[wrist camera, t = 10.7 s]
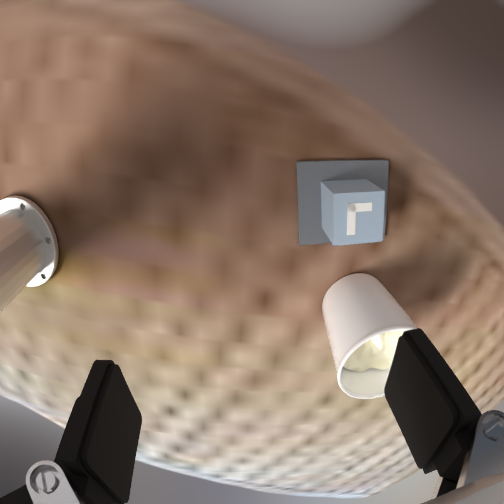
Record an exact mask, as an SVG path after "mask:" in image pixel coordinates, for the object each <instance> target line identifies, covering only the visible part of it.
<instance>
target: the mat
mask: <svg viewBox="0 0 504 504" xmlns="http://www.w3.org/2000/svg"><path fill="white" fill-rule="evenodd" d="M388 170H389V161H388V160H322V161H297V162H296V171H297V199H298V239H299V245H311V244H324V243H331V241H330V240H329V238H328V236H327V235H326V233H325V232H324V230H323V228H322V210H321V181H337V180H357V179H367V180H368V181H370V182H372V183H373V184H375V185H376V186H378V187H379V188H381V189H383V190H384V191H385V202H384V223H383V238H382V239H384V238H385V226H386V212H387V195H388Z"/></svg>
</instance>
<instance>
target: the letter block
mask: <svg viewBox="0 0 504 504" xmlns="http://www.w3.org/2000/svg"><path fill="white" fill-rule="evenodd" d="M384 202H385V191H384V190H383V189H381V188H379V187H378V186H376V185H375V184H373V183H372V182H370V181H368V180H367V179H357V180H337V181H321V210H322V228H323V230H324V232H325V233H326V235H327V236H328V238H329V240H330V241H331V243H332V244H333V246H338V245H349V244H360V243H370V242H381V241H382V238H383V223H384Z"/></svg>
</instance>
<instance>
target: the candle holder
mask: <svg viewBox="0 0 504 504" xmlns="http://www.w3.org/2000/svg"><path fill="white" fill-rule="evenodd" d="M322 311H323V316H324V321H325V325H326V329H327V333H328V337H329V342H330V346H331V350H332V354H333V359H334V363H335V367H336V372H337V380H338V384H339V386H340V388H341V389H342V390H343V391H344V392H345V393H346V394H348V395H349V396H352V397H355V398H360V399H372V398H378V397H382V396H385V394H384V388H385V384H386V381H387V378H388V375H389V371H390V368H391V364H392V361H393V357H394V354H395V350H396V346H397V342H398V339H399V337H400V336H402V334H403V332H404V331H408V330H412V329H417V328H418V327H417V326H416V325H415V323H414V322H413V321H412V320H411V318H410V317H409V316H408V315H407V313H406V312H405V311H404V310H403V308H402V307H401V306H400V305H399V304H398V302H397V301H396V300H395V299H394V297H393V296H392V295H391V294H390V293H389V292H388V290H387V289H386V288H385V287H384V286H383V285H382V283H381V282H380V281H379V280H377V279H376V278H375V277H373V276H371V275H368V274H364V273H355V274H350V275H347V276H345V277H343V278H341V279H339V280H338V281H336V282H335V283H334V284H333V285H332V286H331V287H330V288H329V289H328V291H327V292H326V294H325V296H324V299H323V304H322Z"/></svg>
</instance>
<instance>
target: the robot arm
mask: <svg viewBox="0 0 504 504" xmlns="http://www.w3.org/2000/svg"><path fill="white" fill-rule="evenodd" d="M58 256H59V250H58V242H57V238H56V234H55V232H54V229H53V226H52V224H51V223H50V221H49V219H48V217H47V216H46V215H45V213H44V212H43V211H42V209H41V208H40V207H39V206H37V205H36V204H35V203H34V202H32V201H31V200H29V199H27V198H25V197H23V196H17V195H14V196H9V197H6V198H4V199H2V200H0V313H1V312H2V311H3V310H4V309H5V308H6V306H7V305H8V304H9V303H10V302H11V301H12V300H13V299H14V298H15V297H16V296H17V295H18V294H19V293H20V292H21V291H22V289H23V288H24V287H25V286H30V287H35V286H40V285H42V284H44V283H45V282H46V281H47V280H49V278H50V277H51V276H52V275H53V274H54V272H55V270H56V267H57V264H58ZM384 394H385V397H386V400H387V402H388V404H389V406H390V408H391V410H392V412H393V414H394V416H395V418H396V421H397V423H398V425H399V427H400V429H401V431H402V433H403V436H404V438H405V440H406V442H407V444H408V447H409V449H410V451H411V453H412V455H413V458H414V460H415V462H416V464H417V466H418V467H419V468H420V469H423V471H424V473H425V474H427V473H429V472H432V471H434V470H438V473H439V475H440V477H439V480H438V483H437V485H436V488H435V491H434V494H433V496H432V499H431V500H429V501H427V502H424V503H422V504H504V413H503V412H501V411H498V410H490V411H487V412H485V413H483V414H481V412H480V411H479V409H478V408H477V406H476V405H475V403H474V402H473V400H472V399H471V397H470V396H469V394H468V393H467V391H466V390H465V388H464V387H463V385H462V384H461V383H460V381H459V380H458V378H457V377H456V375H455V374H454V373H453V371H452V370H451V368H450V367H449V366H448V364H447V363H446V361H445V360H444V359H443V357H442V356H441V355H440V353H439V352H438V350H437V349H436V348H435V346H434V345H433V344H432V342H431V341H430V340H429V338H428V337H427V336H426V334H425V333H424V332H423V331H422V330H421V329H420V328H417V329H412V330H408V331H404V332H403V334H402V336H400V337H399V339H398V342H397V346H396V350H395V354H394V357H393V361H392V364H391V368H390V371H389V375H388V378H387V381H386V384H385V388H384ZM141 424H142V416H141V413H140V411H139V409H138V407H137V405H136V403H135V400H134V398H133V396H132V394H131V392H130V390H129V388H128V385H127V383H126V381H125V379H124V376H123V374H122V372H121V369H120V367H119V366H118V365H115V364H114V362H113V361H112V360H96V361H94V363H93V366H92V368H91V370H90V373H89V375H88V378H87V380H86V383H85V385H84V388H83V390H82V393H81V395H80V397H78V398H77V400H76V401H75V404H74V406H73V409H72V412H71V414H70V417H69V420H68V422H67V425H66V428H65V431H64V434H63V436H62V439H61V442H60V445H59V448H58V451H57V454H56V457H55V460H54V462H52V461H40V462H37V463H36V464H34V465H32V467H31V468H30V469H29V471H28V473H27V475H26V485H24V486H22V487H21V488H19V489H17V490H15V491H13V492H11V493H9V494H7V495H5V496H3V497H1V498H0V504H124V503H127V502H128V500H129V494H130V488H131V481H132V475H133V469H134V462H135V457H136V451H137V446H138V440H139V435H140V429H141Z"/></svg>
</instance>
